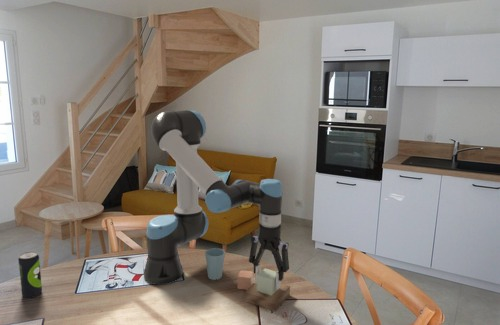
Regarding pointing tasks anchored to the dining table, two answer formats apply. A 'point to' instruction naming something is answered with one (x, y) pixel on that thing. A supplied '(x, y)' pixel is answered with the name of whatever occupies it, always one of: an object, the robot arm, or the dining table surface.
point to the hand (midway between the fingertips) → (267, 284)
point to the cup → (215, 262)
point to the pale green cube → (266, 282)
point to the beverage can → (30, 274)
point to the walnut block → (267, 297)
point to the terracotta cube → (245, 280)
